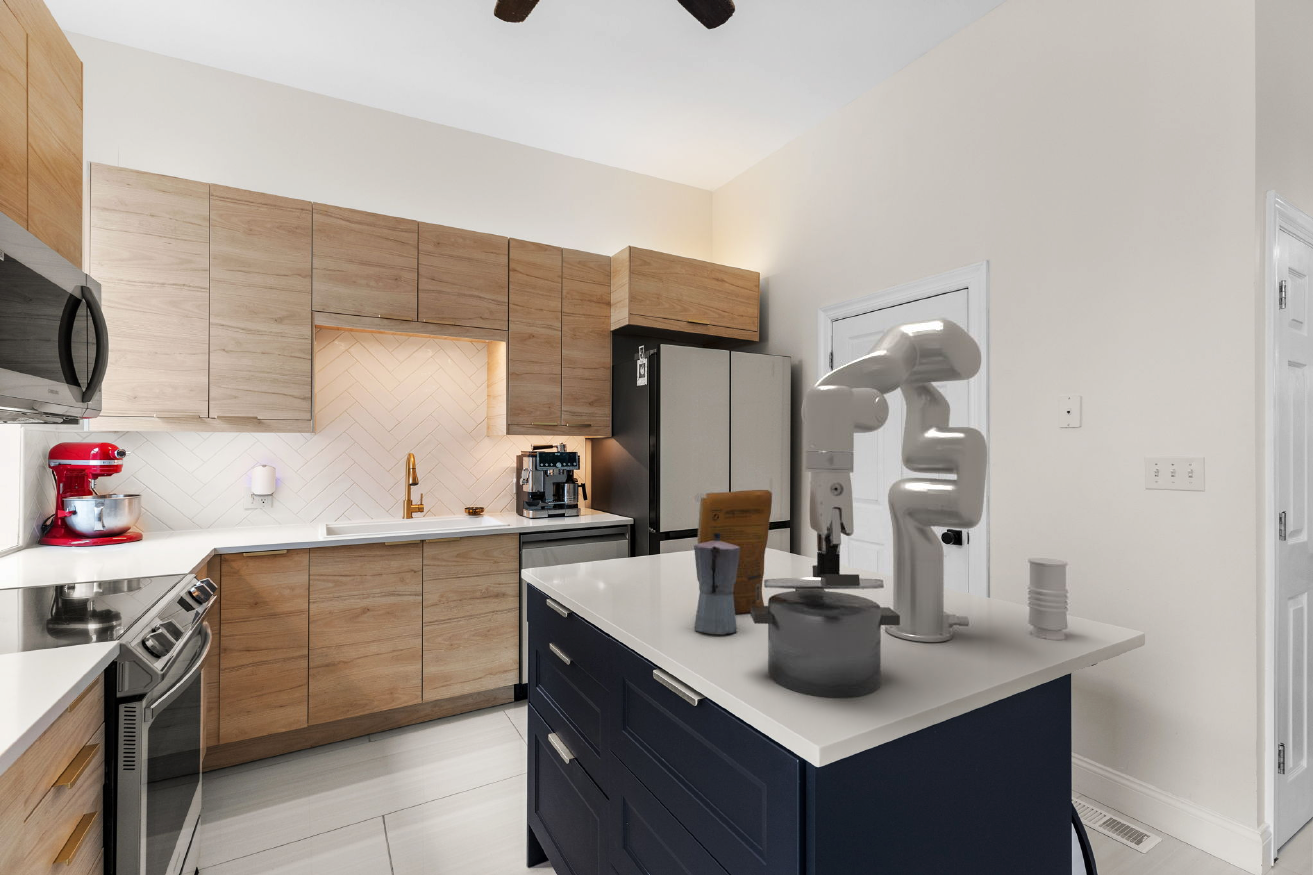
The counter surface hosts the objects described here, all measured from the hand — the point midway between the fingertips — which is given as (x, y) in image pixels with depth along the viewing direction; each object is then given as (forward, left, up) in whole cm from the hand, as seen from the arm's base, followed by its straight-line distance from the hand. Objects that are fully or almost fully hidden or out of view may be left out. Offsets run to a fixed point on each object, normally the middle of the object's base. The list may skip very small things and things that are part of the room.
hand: (828, 577), depth 98 cm
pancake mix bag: (+11, -42, -17) cm, 47 cm away
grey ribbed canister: (-51, -28, -17) cm, 61 cm away
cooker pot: (0, -4, -17) cm, 18 cm away
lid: (0, -3, -2) cm, 4 cm away
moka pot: (+16, -28, -17) cm, 37 cm away
